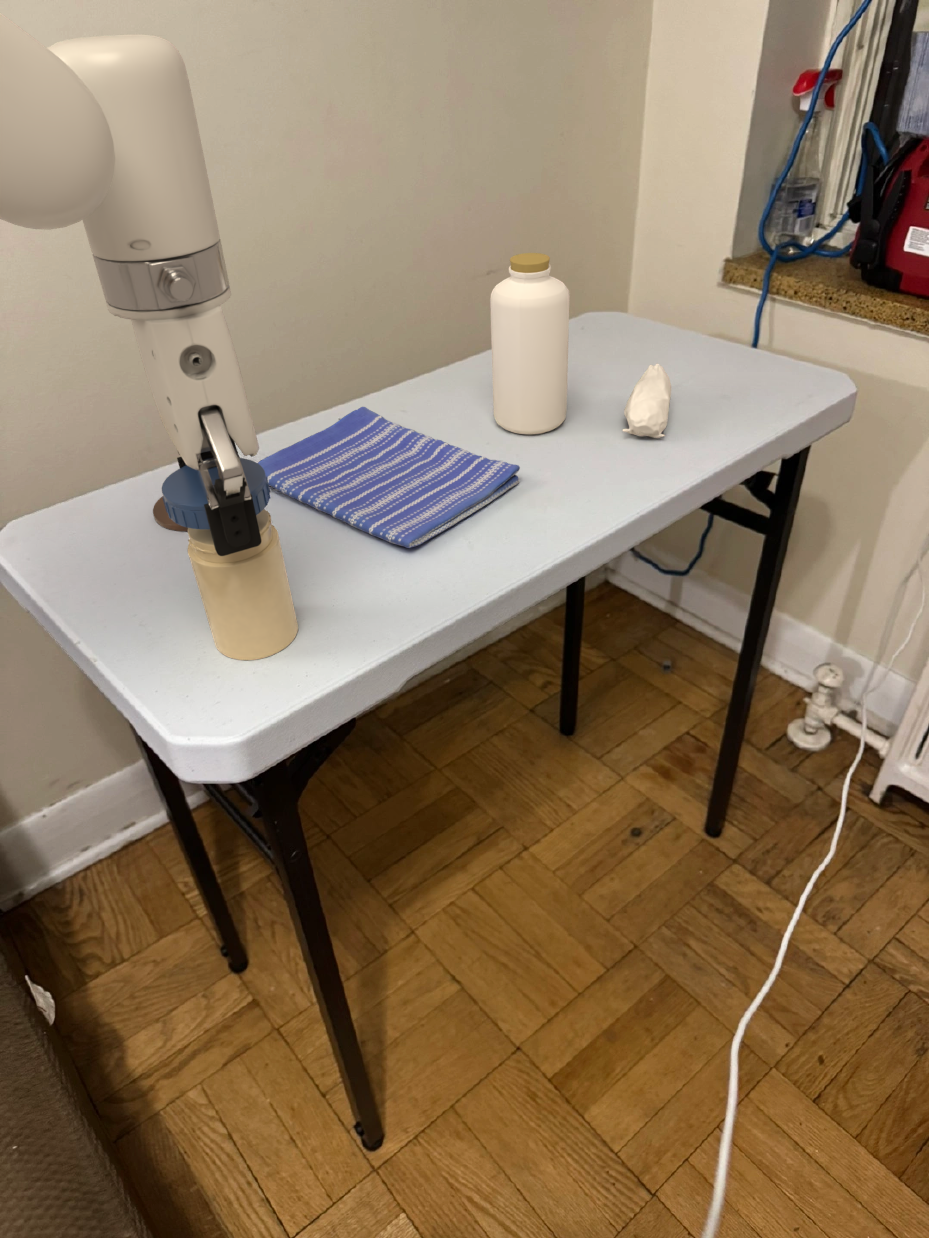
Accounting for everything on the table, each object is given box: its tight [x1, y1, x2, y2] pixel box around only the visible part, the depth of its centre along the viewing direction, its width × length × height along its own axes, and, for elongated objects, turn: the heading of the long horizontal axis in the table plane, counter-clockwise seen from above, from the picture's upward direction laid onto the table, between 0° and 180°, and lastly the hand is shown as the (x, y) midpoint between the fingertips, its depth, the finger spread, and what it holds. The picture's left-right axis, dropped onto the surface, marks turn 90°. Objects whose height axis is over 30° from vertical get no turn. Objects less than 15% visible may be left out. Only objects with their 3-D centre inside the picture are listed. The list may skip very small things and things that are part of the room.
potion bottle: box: [489, 252, 571, 435], centre depth 94 cm, size 8×8×18 cm
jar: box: [187, 508, 299, 661], centre depth 68 cm, size 7×7×11 cm
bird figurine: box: [622, 362, 672, 439], centre depth 96 cm, size 5×7×10 cm
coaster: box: [152, 495, 188, 532], centre depth 87 cm, size 9×9×1 cm
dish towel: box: [257, 406, 521, 549], centre depth 89 cm, size 17×24×3 cm
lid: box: [161, 457, 271, 529], centre depth 62 cm, size 7×7×2 cm
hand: (224, 522), depth 64 cm, fingers closed on lid, 7 cm apart
